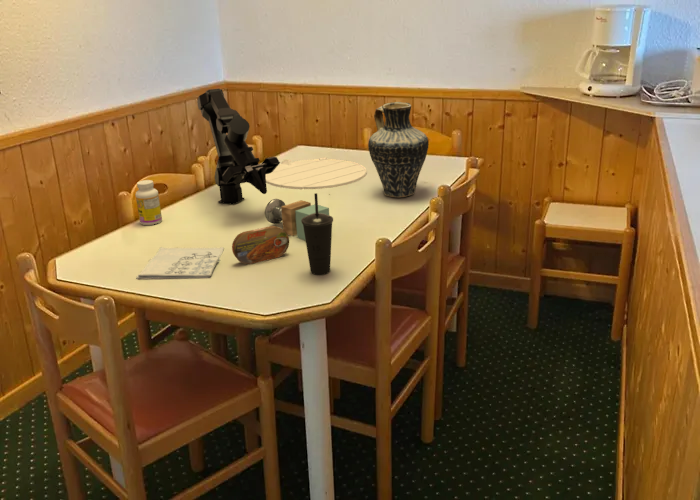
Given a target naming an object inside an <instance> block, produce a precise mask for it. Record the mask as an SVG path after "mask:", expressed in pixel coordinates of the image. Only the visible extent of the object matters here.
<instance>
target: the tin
mask: <svg viewBox="0 0 700 500" xmlns="http://www.w3.org/2000/svg"><path fill="white" fill-rule="evenodd" d="M231 245H232V246H231V250H232V254H233V256H234V257H235V258H236V259H237V261H239V262H240V263H241V264H244V265H252V264H256V263H260V262H265V261H269V260H274V259H275V260H276V259H279V258H280V257H282V256H283V255H285V253H287V251H288V249H289V247H290V246H289V245H290V237H289V235H288V234H287V233H286V232H285V231H284V230H283V228H281V227H279V226H276V225H270V226H265V227H259V228H257V229H250V230H246V231H242V232H240V233H239V234H237V235H236V236H235V238H234V239H233V241H232V244H231Z"/></svg>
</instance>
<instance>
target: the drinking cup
mask: <svg viewBox="0 0 700 500" xmlns="http://www.w3.org/2000/svg"><path fill="white" fill-rule="evenodd" d="M314 204H315V213H314V214H310V215H308V216H306V217H304V218H302V220H301V222H302V224H303V228H304V234H305V240H306V241H305V240H304V241H305V245H306V251H307V257H308V264H309V270H310V273H311V275H315V276H323V275H327V274H329V273H330V272H331V257H332V256H331V255H332V236H333V235H332V233H333V222H334V217H333V216H332V215H330V214H329V215H326V214H323V213H318V205H319V199H318V193H314Z"/></svg>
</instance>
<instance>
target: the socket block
mask: <svg viewBox="0 0 700 500" xmlns="http://www.w3.org/2000/svg"><path fill="white" fill-rule="evenodd" d="M295 212H296V226H297V235H296V238H297V239H300V240H303V241H305V242H306V240H305V234H304V228H303V224H302V222H301V220H302V218H304V217H306V216H308V215H310V214H314V213H315V203H314V204H312V205H311V206H308V207H305V208H302V209H299V210H296V211H295ZM318 213H323V214H326V215H329V216H330V208H329V207H327V206H324V205H320V204H318Z"/></svg>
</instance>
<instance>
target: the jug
mask: <svg viewBox="0 0 700 500" xmlns="http://www.w3.org/2000/svg"><path fill="white" fill-rule="evenodd" d="M411 110H412V105H411V103H410V102H401V101H395V102H388V103H384V104H383V105H381V106H379V107H377V108H376V109H375V111H374V115H373V117H374V122H375V126H376V130H377V131H376V132H374V133H373V134H372V135H371V136H370V137H369V140H368V143H367V144H368V145H367V146H368V147H367V149H368V152H369V156H370V159H371V161H372V163H373V165H374V167H375V169H376V172H377V175H378V178H379V180H380V182H381V185H382V190H383V194H384V195H385V196H387V197H391V198H406V197H408V196H412V195H414V194H415V192H416V188H417V183H418V179H419V176H420V173H421V170H422V168H423V166H424V163H425V161H426V157H427V155H428V151H429V138H428V136H427V135H426V133H425V132H423V131H421V130H419V129H418V128H415V127H414V126H412V124H411V121H410V115H411ZM384 118H385V119H384ZM384 120H385V121H384Z"/></svg>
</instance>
